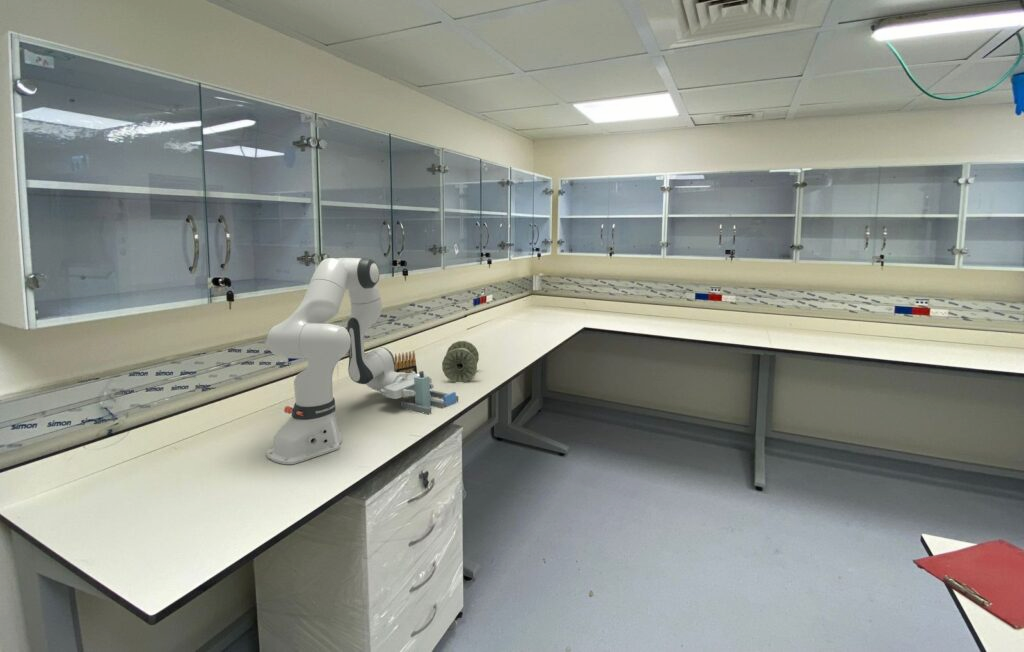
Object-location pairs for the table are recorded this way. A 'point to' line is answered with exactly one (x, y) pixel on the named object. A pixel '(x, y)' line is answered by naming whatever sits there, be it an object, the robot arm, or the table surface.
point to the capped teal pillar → (422, 390)
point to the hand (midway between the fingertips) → (423, 389)
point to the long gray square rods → (432, 402)
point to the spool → (460, 361)
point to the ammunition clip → (405, 363)
